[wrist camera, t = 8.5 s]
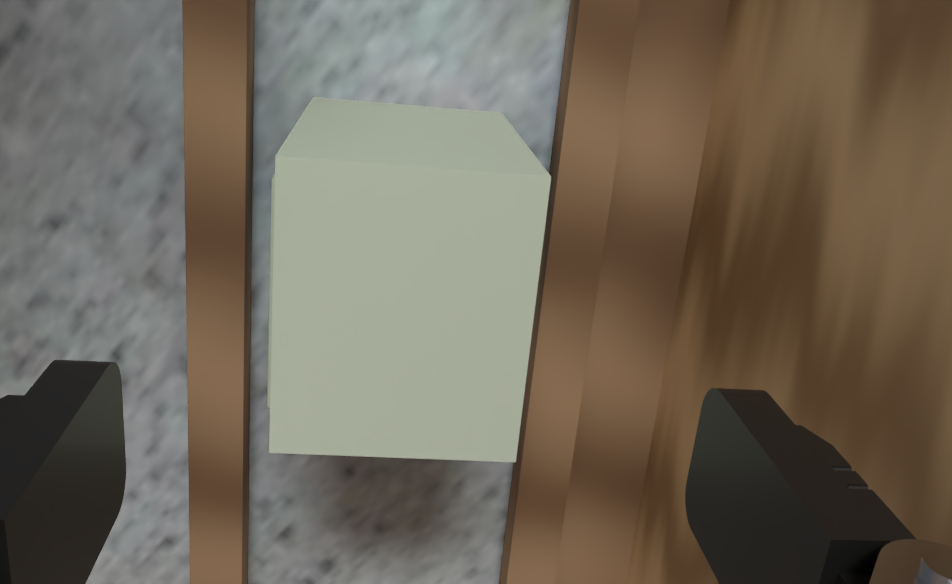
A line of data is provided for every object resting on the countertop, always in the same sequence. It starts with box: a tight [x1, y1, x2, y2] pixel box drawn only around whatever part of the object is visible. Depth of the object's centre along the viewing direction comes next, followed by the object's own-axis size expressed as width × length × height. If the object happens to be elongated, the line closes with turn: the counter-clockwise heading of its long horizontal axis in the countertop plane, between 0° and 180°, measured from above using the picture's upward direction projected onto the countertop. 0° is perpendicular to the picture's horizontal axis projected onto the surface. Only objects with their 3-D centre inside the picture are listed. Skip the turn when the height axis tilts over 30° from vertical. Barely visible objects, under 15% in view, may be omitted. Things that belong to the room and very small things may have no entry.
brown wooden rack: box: [182, 0, 952, 584], centre depth 17 cm, size 26×16×16 cm, turn 175°
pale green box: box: [267, 97, 551, 462], centre depth 21 cm, size 6×5×8 cm
